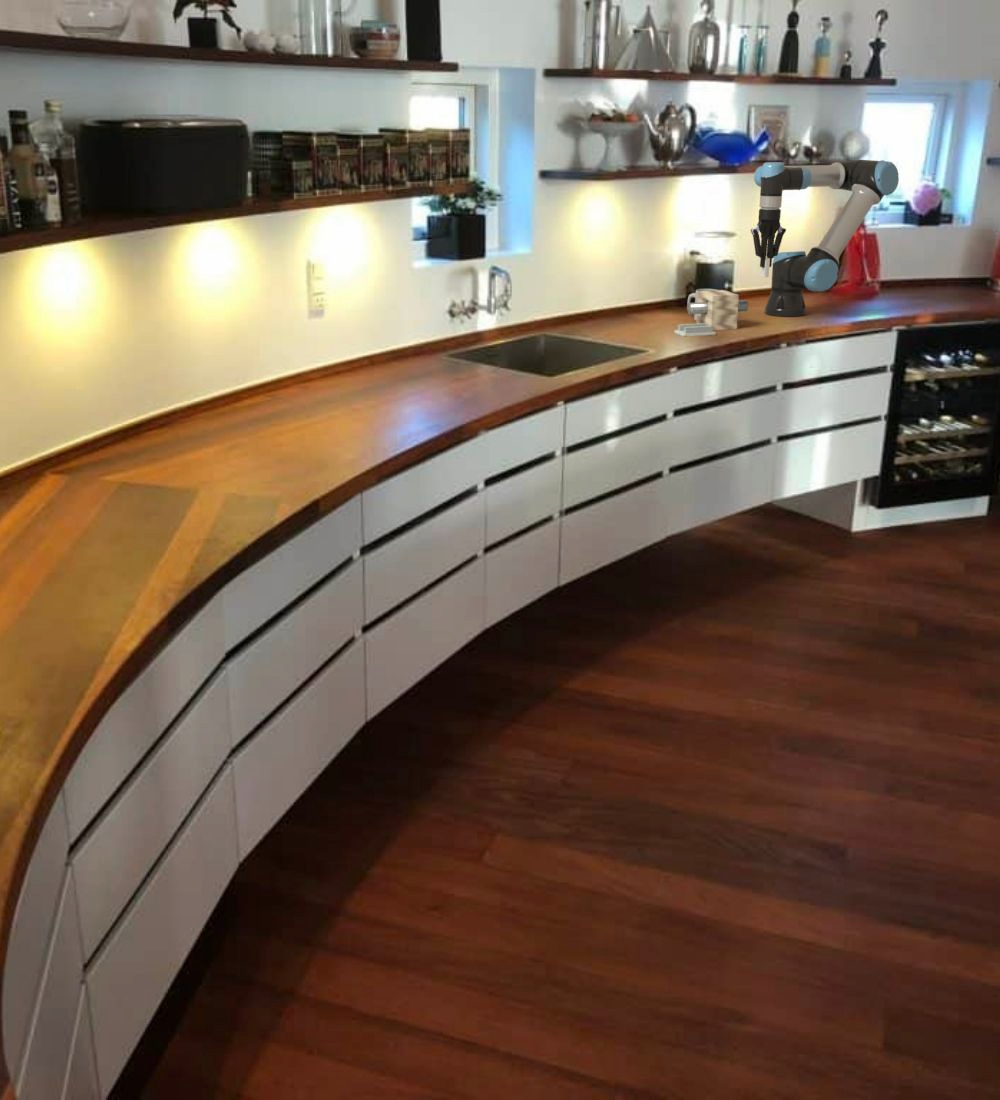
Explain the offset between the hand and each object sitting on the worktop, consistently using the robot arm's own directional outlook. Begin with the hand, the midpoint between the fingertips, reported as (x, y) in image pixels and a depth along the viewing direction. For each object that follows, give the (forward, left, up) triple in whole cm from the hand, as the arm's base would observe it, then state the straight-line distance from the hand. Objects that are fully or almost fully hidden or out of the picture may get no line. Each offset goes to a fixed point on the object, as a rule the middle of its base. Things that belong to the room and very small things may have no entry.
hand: (764, 276), depth 434 cm
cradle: (+31, +10, -17) cm, 37 cm away
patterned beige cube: (+18, 0, -17) cm, 25 cm away
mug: (+17, -15, -17) cm, 28 cm away
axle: (+18, 0, -10) cm, 20 cm away
